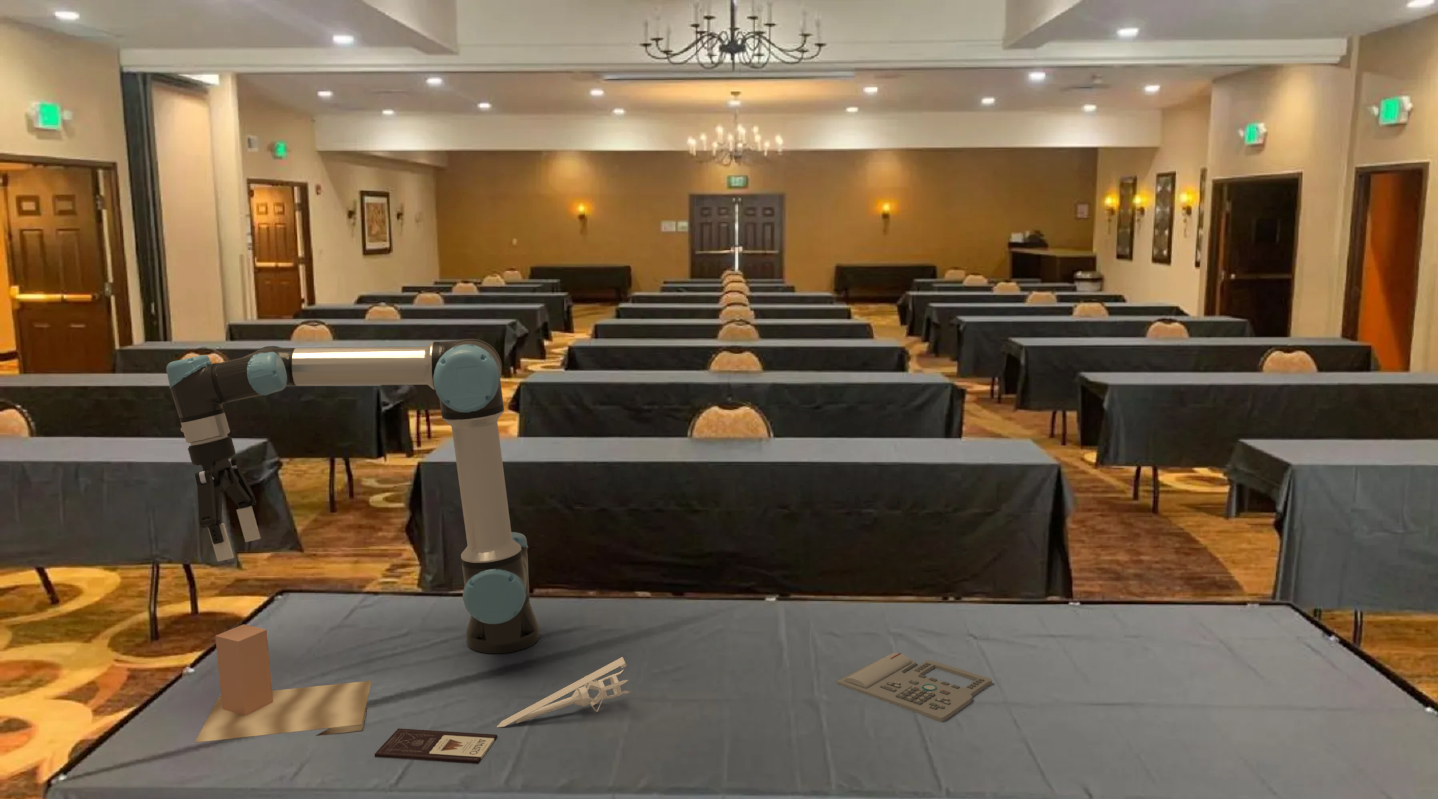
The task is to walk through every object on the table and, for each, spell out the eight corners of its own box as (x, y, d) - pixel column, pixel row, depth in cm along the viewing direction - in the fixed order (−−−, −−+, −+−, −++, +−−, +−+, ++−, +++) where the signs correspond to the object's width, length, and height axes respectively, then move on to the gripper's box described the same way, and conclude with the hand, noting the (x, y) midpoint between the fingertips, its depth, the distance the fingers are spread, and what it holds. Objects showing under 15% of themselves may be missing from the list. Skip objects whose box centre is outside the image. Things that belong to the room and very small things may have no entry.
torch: (519, 763, 191) (643, 696, 194) (500, 742, 185) (629, 673, 188) (509, 734, 195) (631, 669, 199) (491, 712, 189) (617, 645, 192)
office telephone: (835, 674, 202) (894, 642, 216) (835, 687, 202) (894, 655, 217) (942, 710, 186) (998, 674, 201) (942, 724, 187) (998, 687, 201)
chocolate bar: (398, 728, 186) (497, 734, 183) (398, 733, 186) (497, 739, 183) (374, 754, 177) (478, 760, 174) (374, 759, 177) (478, 766, 175)
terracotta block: (222, 709, 192) (215, 635, 190) (250, 695, 197) (243, 624, 195) (245, 715, 189) (238, 641, 187) (273, 702, 195) (266, 629, 192)
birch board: (372, 686, 203) (371, 680, 203) (362, 730, 186) (361, 724, 186) (220, 702, 198) (219, 695, 197) (195, 748, 180) (194, 742, 180)
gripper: (215, 433, 208) (244, 537, 211) (158, 456, 183) (191, 573, 186) (253, 425, 208) (282, 528, 211) (201, 447, 184) (234, 563, 187)
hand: (239, 549), depth 199 cm, fingers open, 13 cm apart
